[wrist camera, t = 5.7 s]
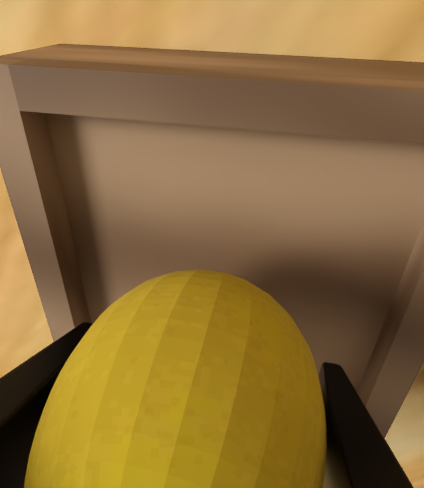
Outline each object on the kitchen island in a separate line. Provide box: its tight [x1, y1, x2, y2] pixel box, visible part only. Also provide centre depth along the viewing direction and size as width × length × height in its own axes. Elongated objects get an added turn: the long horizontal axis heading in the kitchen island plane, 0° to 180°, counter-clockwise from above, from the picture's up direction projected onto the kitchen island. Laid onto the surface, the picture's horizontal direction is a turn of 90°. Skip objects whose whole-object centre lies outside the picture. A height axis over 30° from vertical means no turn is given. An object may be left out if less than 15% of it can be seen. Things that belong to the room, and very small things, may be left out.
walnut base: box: [0, 44, 424, 438], centre depth 13 cm, size 12×12×4 cm
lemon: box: [24, 269, 327, 488], centre depth 8 cm, size 6×6×8 cm
